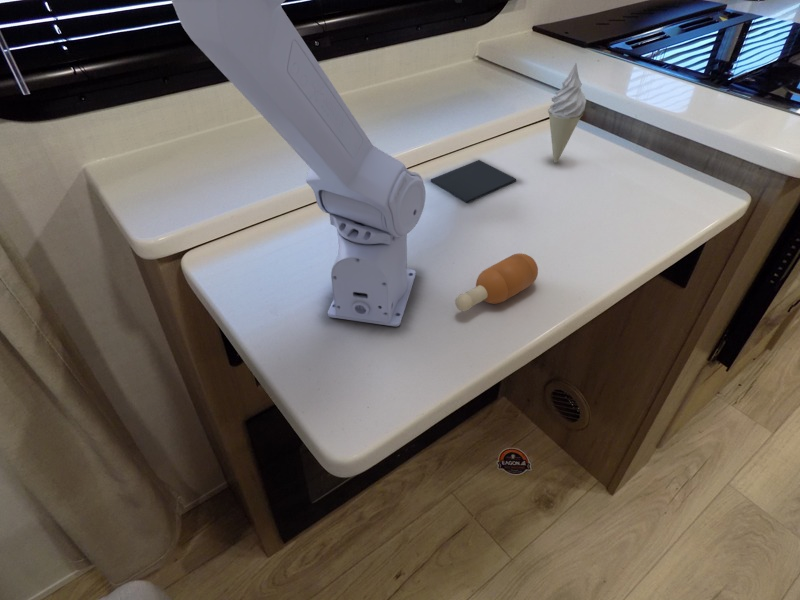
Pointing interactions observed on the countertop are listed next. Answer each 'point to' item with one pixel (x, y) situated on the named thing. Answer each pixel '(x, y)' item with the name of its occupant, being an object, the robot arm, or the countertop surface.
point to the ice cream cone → (566, 112)
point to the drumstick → (500, 281)
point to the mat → (473, 181)
